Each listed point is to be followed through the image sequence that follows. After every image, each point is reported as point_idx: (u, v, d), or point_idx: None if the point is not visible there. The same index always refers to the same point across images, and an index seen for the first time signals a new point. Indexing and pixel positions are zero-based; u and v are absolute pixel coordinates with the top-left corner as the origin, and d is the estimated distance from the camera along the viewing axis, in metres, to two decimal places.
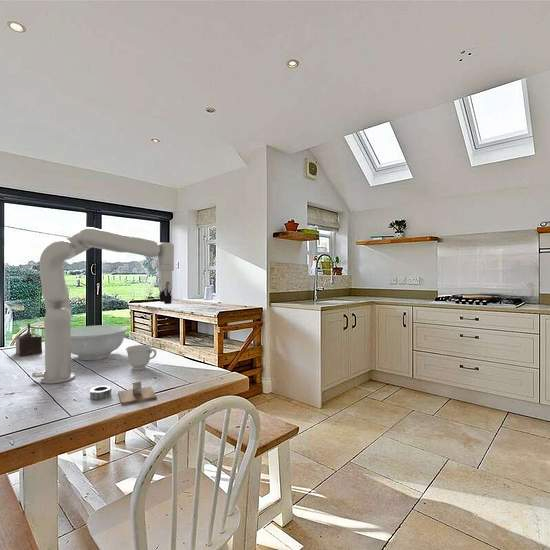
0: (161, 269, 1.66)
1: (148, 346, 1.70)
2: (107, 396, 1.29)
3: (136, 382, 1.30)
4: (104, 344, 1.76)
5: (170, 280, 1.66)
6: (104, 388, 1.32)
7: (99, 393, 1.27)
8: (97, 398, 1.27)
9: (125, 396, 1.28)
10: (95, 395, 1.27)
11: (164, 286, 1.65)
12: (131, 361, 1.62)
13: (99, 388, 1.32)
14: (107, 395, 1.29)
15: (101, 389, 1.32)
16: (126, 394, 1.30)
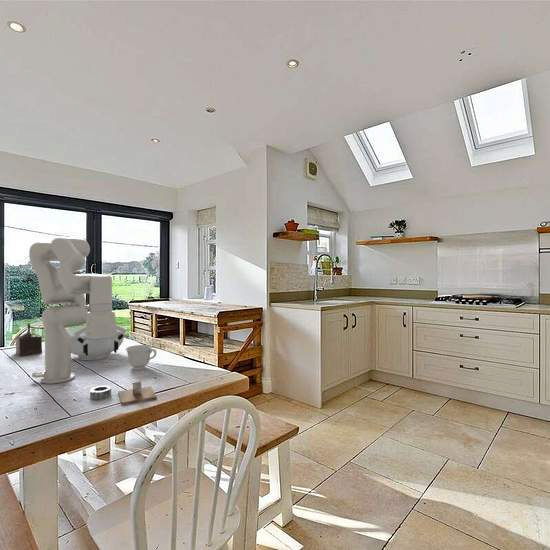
0: (109, 310, 1.29)
1: (148, 346, 1.70)
2: (107, 396, 1.29)
3: (136, 382, 1.30)
4: (104, 344, 1.76)
5: None
6: (104, 388, 1.32)
7: (99, 393, 1.27)
8: (97, 398, 1.27)
9: (125, 396, 1.28)
10: (95, 395, 1.27)
11: None
12: (131, 361, 1.62)
13: (99, 388, 1.32)
14: (107, 395, 1.29)
15: (101, 389, 1.32)
16: (126, 394, 1.30)
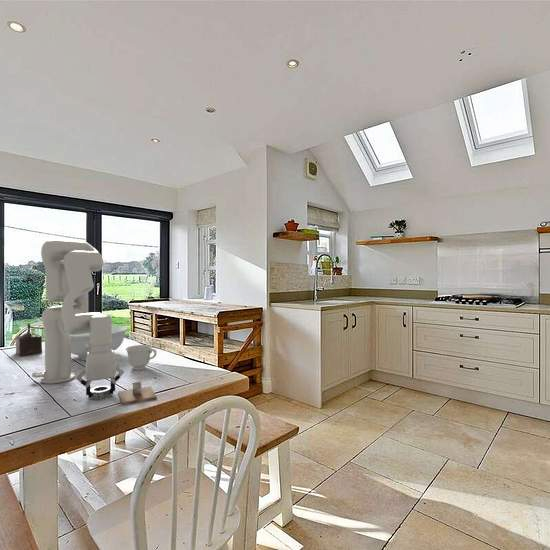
0: (108, 350, 1.29)
1: (148, 346, 1.70)
2: (107, 396, 1.29)
3: (136, 382, 1.30)
4: None
5: None
6: (104, 388, 1.32)
7: (99, 393, 1.27)
8: (97, 398, 1.27)
9: (125, 396, 1.28)
10: (95, 395, 1.27)
11: (115, 370, 1.31)
12: (131, 361, 1.62)
13: (99, 388, 1.32)
14: (107, 395, 1.29)
15: (101, 389, 1.32)
16: (126, 394, 1.30)
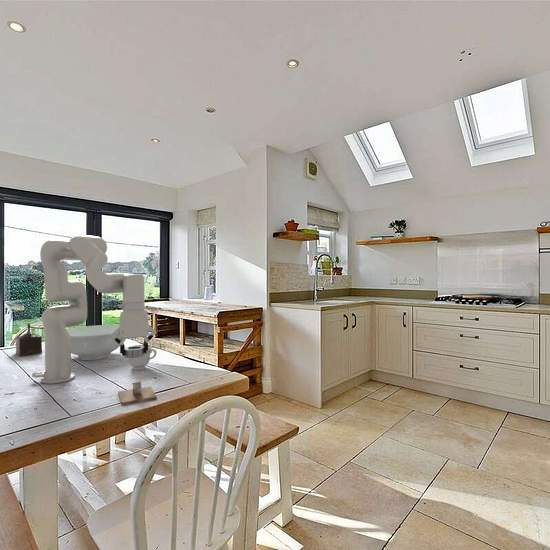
0: (142, 309, 1.29)
1: (148, 346, 1.70)
2: (141, 354, 1.29)
3: (136, 382, 1.30)
4: (104, 344, 1.76)
5: None
6: (137, 348, 1.32)
7: (133, 351, 1.27)
8: (131, 356, 1.27)
9: (125, 396, 1.28)
10: (130, 353, 1.27)
11: (148, 329, 1.31)
12: (131, 361, 1.62)
13: (132, 348, 1.32)
14: (141, 353, 1.29)
15: (134, 349, 1.32)
16: (126, 394, 1.30)
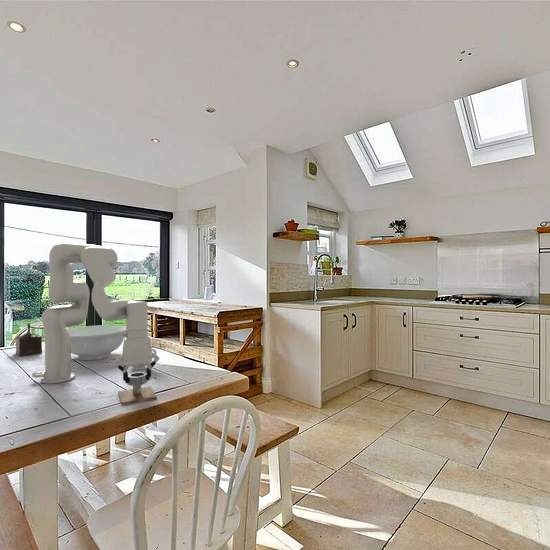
0: (145, 336, 1.29)
1: None
2: (144, 382, 1.29)
3: None
4: (104, 344, 1.76)
5: None
6: (140, 374, 1.33)
7: (137, 378, 1.27)
8: (135, 383, 1.27)
9: (125, 396, 1.28)
10: (133, 381, 1.27)
11: (152, 356, 1.31)
12: None
13: (135, 374, 1.32)
14: (144, 381, 1.29)
15: (137, 375, 1.33)
16: (126, 394, 1.30)
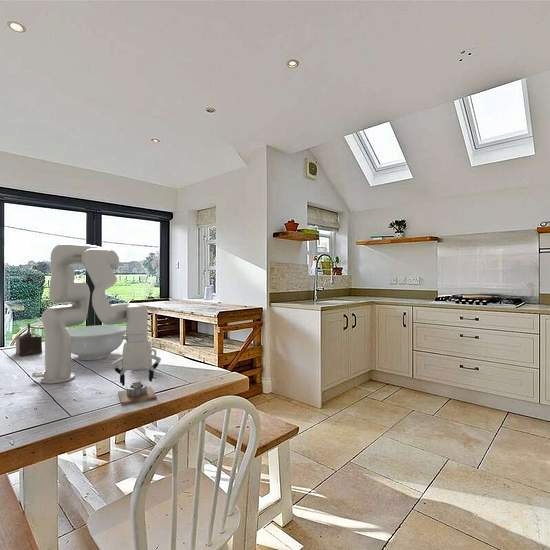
0: (145, 340, 1.29)
1: None
2: (143, 393, 1.29)
3: (136, 382, 1.30)
4: (104, 344, 1.76)
5: None
6: None
7: (136, 390, 1.28)
8: (134, 395, 1.27)
9: (125, 396, 1.28)
10: (133, 392, 1.27)
11: (151, 360, 1.32)
12: None
13: None
14: (143, 392, 1.29)
15: None
16: (126, 394, 1.30)
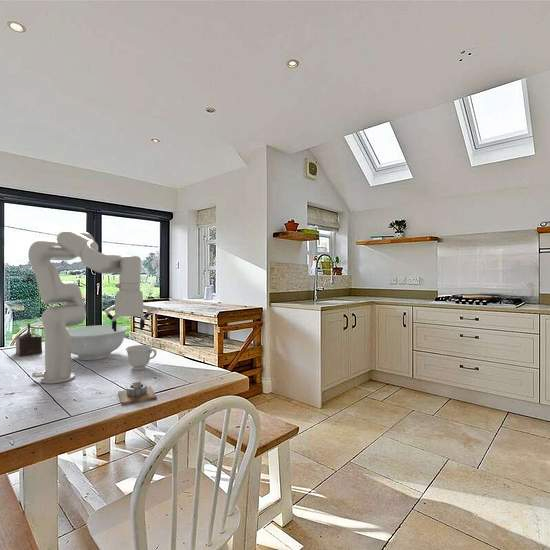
0: (137, 289, 1.35)
1: (148, 346, 1.70)
2: (143, 393, 1.29)
3: (136, 382, 1.30)
4: (104, 344, 1.76)
5: None
6: None
7: (136, 390, 1.28)
8: (134, 395, 1.27)
9: (125, 396, 1.28)
10: (133, 392, 1.27)
11: None
12: (131, 361, 1.62)
13: None
14: (143, 392, 1.29)
15: None
16: (126, 394, 1.30)
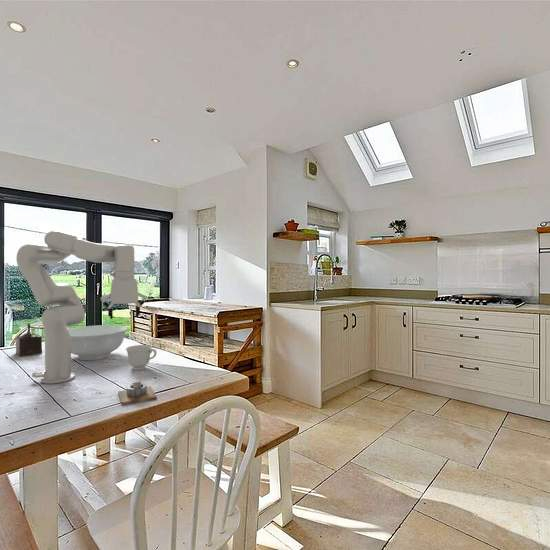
0: (132, 277, 1.39)
1: (148, 346, 1.70)
2: (143, 393, 1.29)
3: (136, 382, 1.30)
4: (104, 344, 1.76)
5: None
6: None
7: (136, 390, 1.28)
8: (134, 395, 1.27)
9: (125, 396, 1.28)
10: (133, 392, 1.27)
11: None
12: (131, 361, 1.62)
13: None
14: (143, 392, 1.29)
15: None
16: (126, 394, 1.30)
